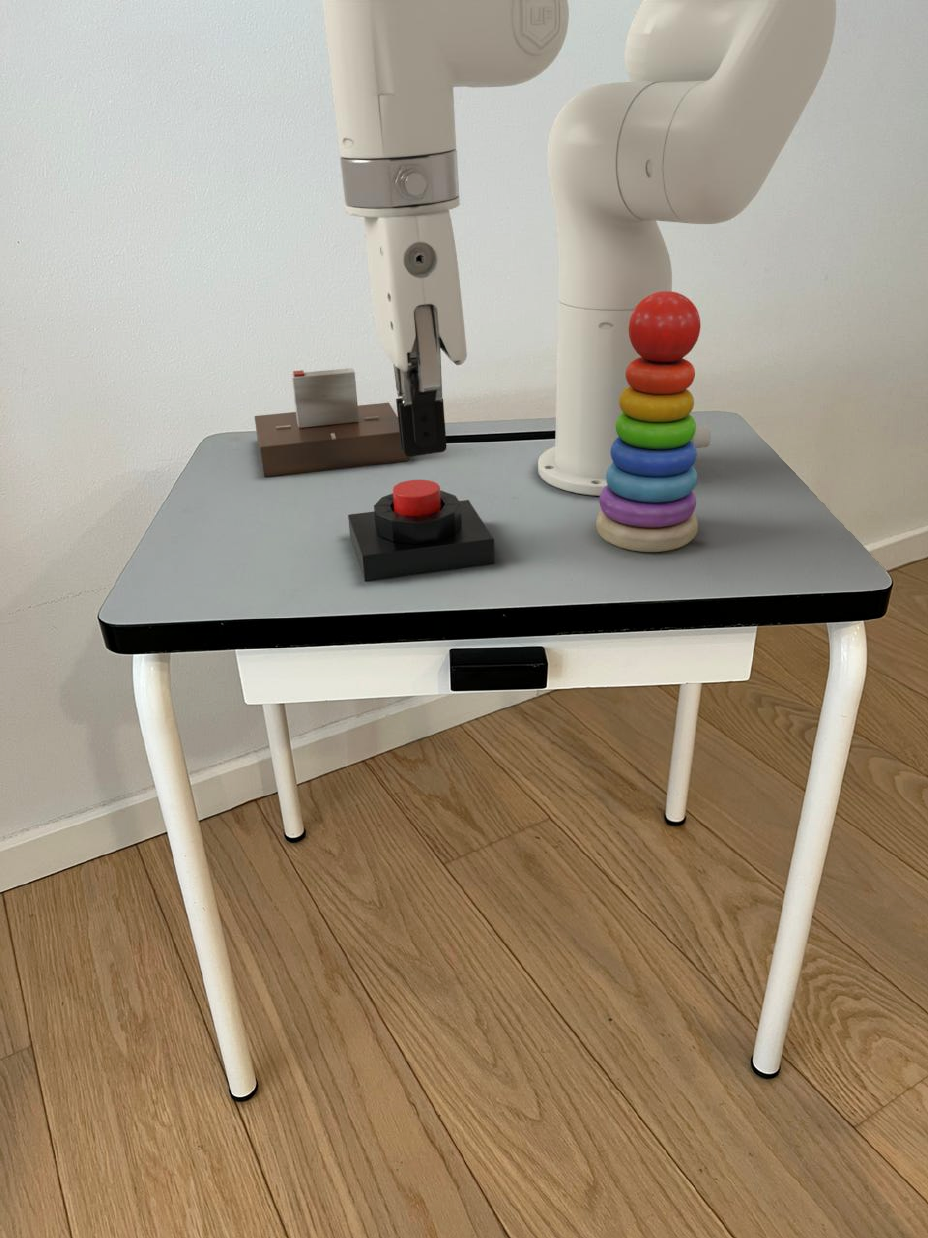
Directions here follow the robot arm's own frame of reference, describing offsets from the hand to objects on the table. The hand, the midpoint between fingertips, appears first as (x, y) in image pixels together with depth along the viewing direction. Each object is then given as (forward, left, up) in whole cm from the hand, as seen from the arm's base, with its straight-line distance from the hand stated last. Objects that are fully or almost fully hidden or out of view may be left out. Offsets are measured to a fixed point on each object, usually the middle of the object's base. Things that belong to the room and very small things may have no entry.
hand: (423, 450), depth 71 cm
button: (+1, 0, -5) cm, 5 cm away
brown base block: (+5, -25, -8) cm, 27 cm away
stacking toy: (-17, +3, -8) cm, 19 cm away
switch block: (+1, 0, -8) cm, 8 cm away
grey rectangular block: (+5, -25, -5) cm, 26 cm away
